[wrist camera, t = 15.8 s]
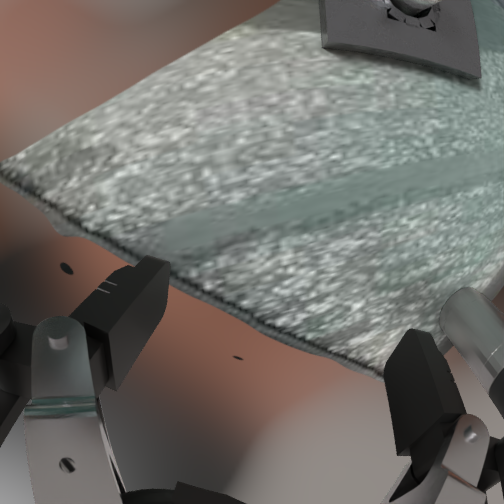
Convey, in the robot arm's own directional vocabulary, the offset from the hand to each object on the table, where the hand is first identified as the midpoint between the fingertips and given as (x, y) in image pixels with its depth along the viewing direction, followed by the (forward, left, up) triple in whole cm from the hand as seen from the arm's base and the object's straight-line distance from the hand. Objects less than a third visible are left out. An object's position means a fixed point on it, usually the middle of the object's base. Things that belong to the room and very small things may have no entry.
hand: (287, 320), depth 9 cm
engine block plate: (-18, -25, -28) cm, 42 cm away
